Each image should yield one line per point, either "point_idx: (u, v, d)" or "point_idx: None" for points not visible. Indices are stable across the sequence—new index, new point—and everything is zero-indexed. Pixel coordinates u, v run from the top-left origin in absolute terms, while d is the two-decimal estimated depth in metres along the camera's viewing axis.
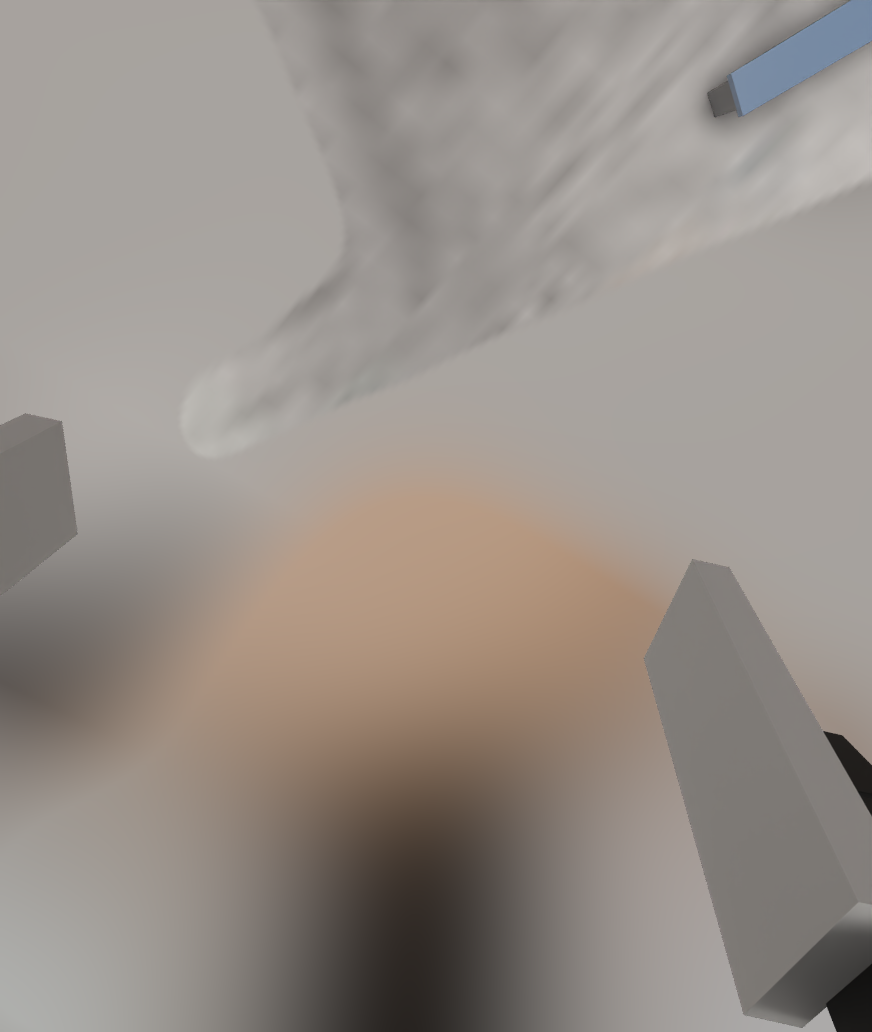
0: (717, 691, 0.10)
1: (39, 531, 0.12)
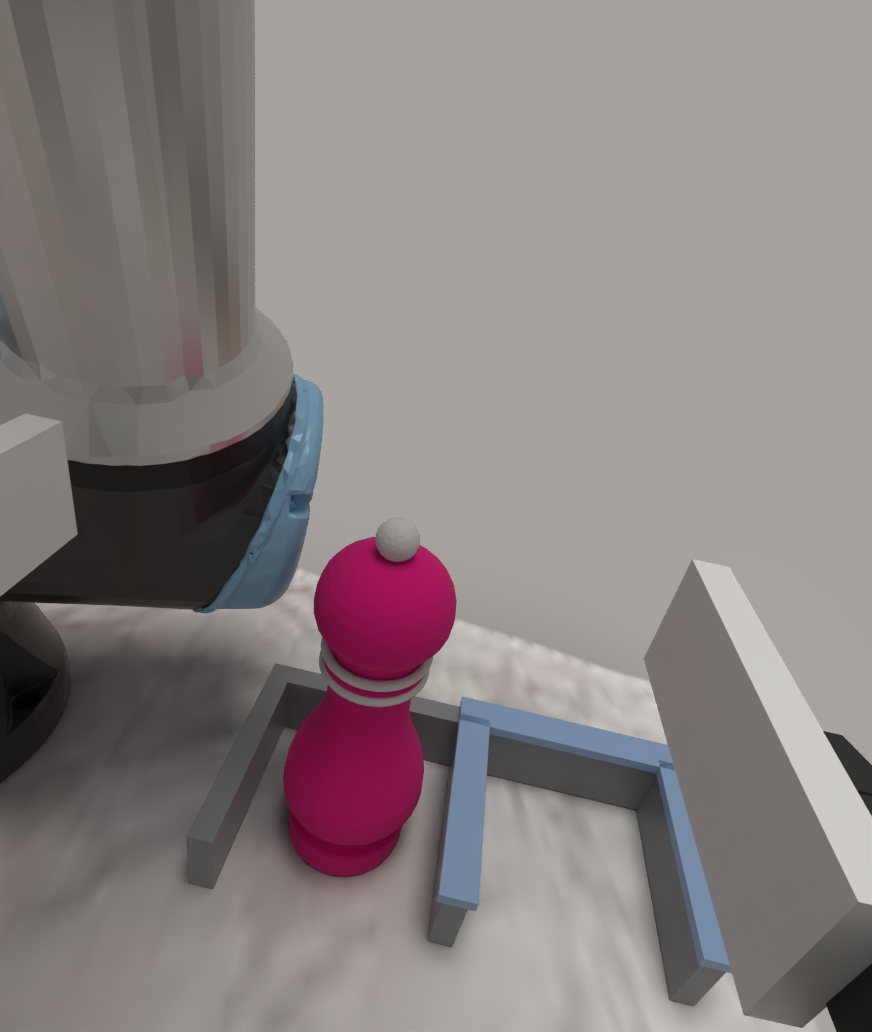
0: (717, 691, 0.10)
1: (39, 531, 0.12)
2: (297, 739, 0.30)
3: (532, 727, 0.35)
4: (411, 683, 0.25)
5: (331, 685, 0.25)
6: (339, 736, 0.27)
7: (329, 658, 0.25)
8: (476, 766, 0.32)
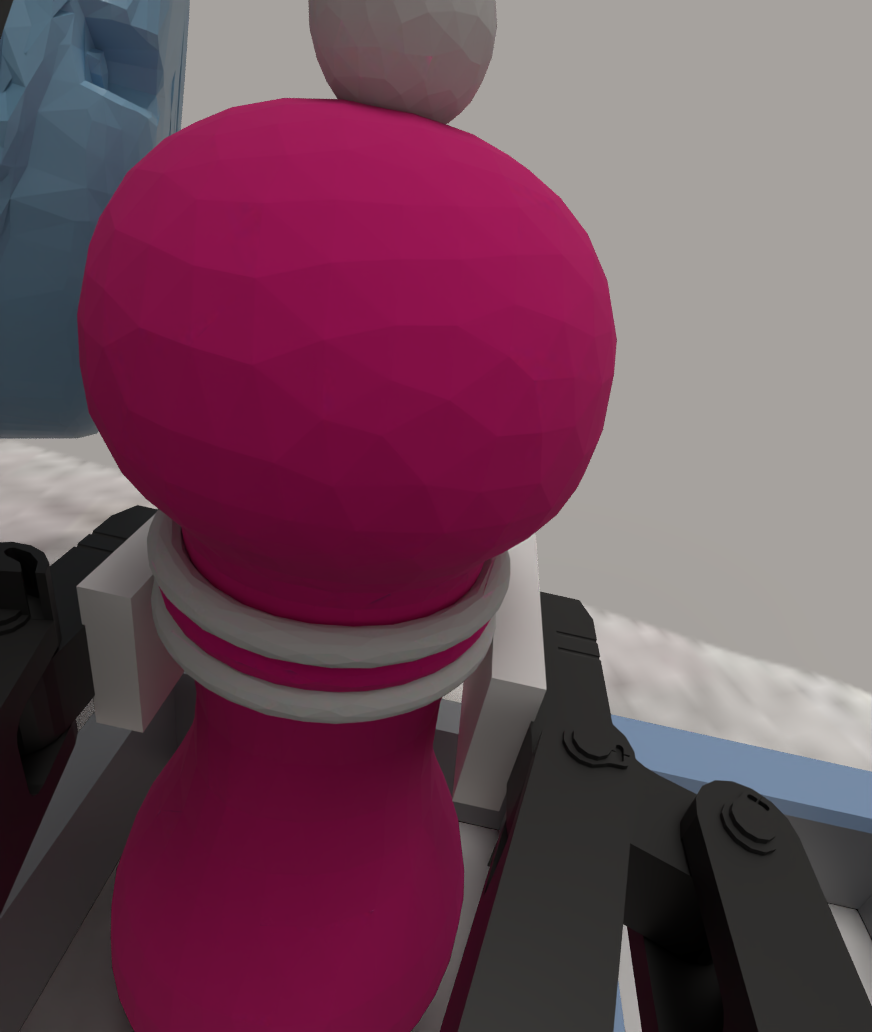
0: None
1: None
2: (142, 808, 0.11)
3: (671, 755, 0.18)
4: (454, 638, 0.07)
5: (174, 650, 0.07)
6: (226, 815, 0.09)
7: (164, 554, 0.07)
8: None
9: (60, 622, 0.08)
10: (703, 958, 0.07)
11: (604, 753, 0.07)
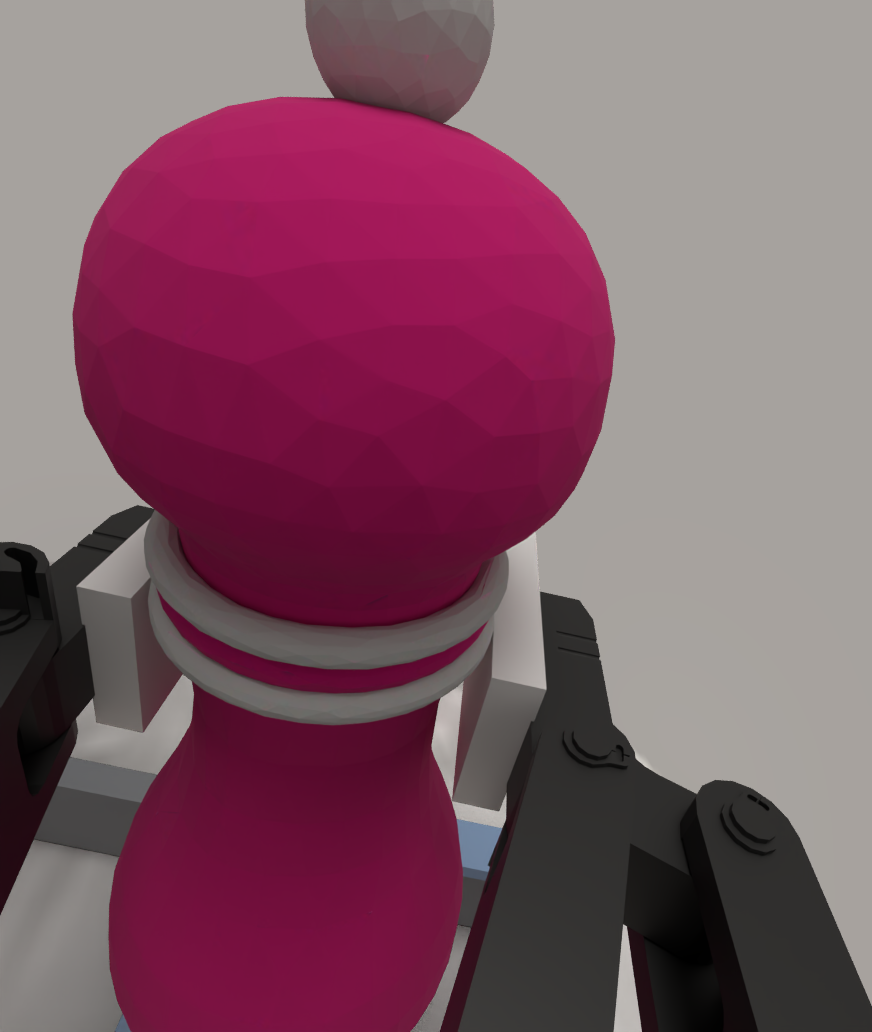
0: None
1: None
2: (140, 809, 0.11)
3: None
4: (452, 639, 0.07)
5: (170, 651, 0.07)
6: (222, 817, 0.09)
7: (160, 555, 0.07)
8: None
9: (60, 622, 0.08)
10: (703, 958, 0.07)
11: (604, 753, 0.07)
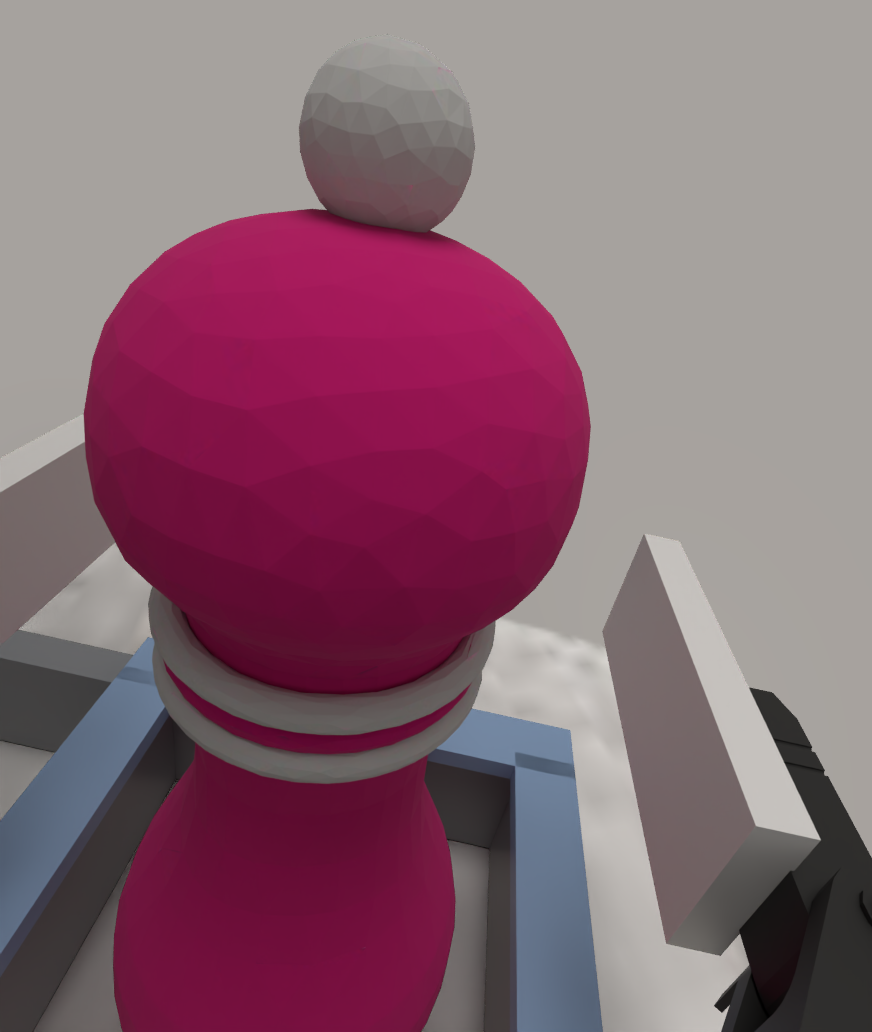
0: (658, 653, 0.10)
1: (100, 524, 0.12)
2: (143, 842, 0.12)
3: None
4: (439, 702, 0.07)
5: (174, 712, 0.08)
6: (223, 859, 0.09)
7: (164, 622, 0.08)
8: (95, 771, 0.15)
9: None
10: None
11: None
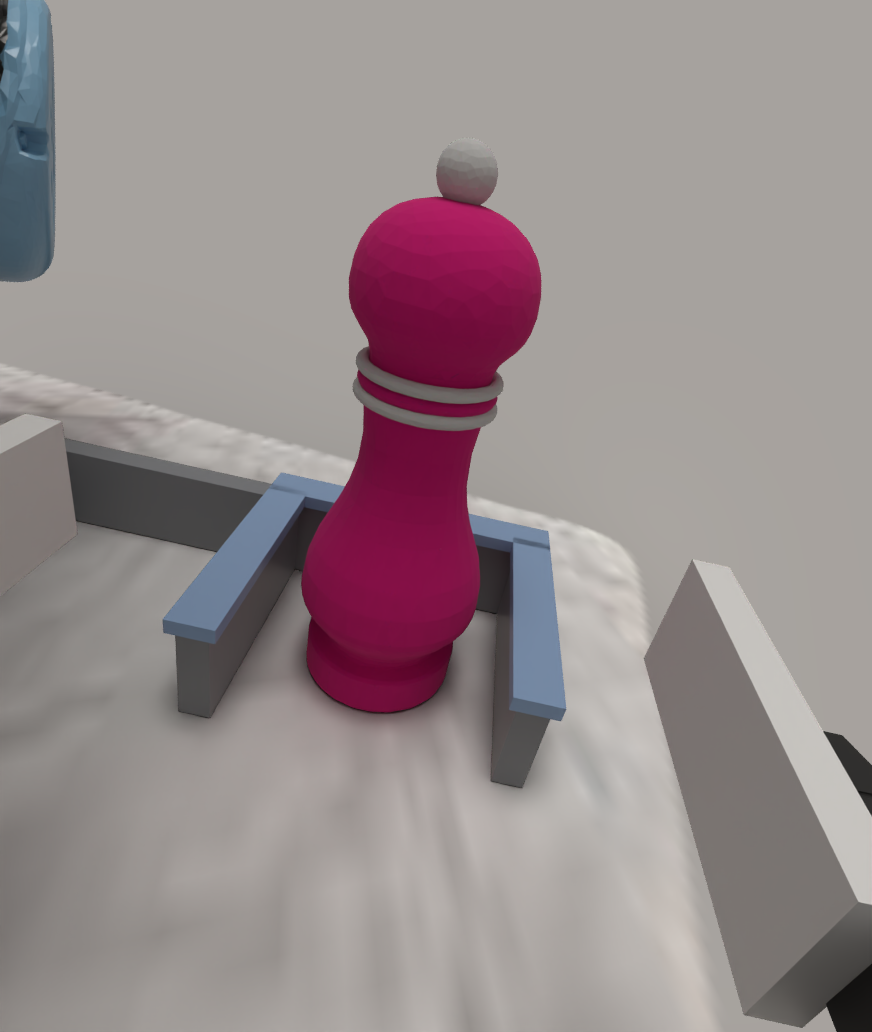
0: (717, 691, 0.10)
1: (39, 531, 0.12)
2: (320, 527, 0.23)
3: None
4: (481, 396, 0.18)
5: (372, 403, 0.19)
6: (379, 493, 0.20)
7: (369, 365, 0.19)
8: (271, 523, 0.26)
9: None
10: None
11: None
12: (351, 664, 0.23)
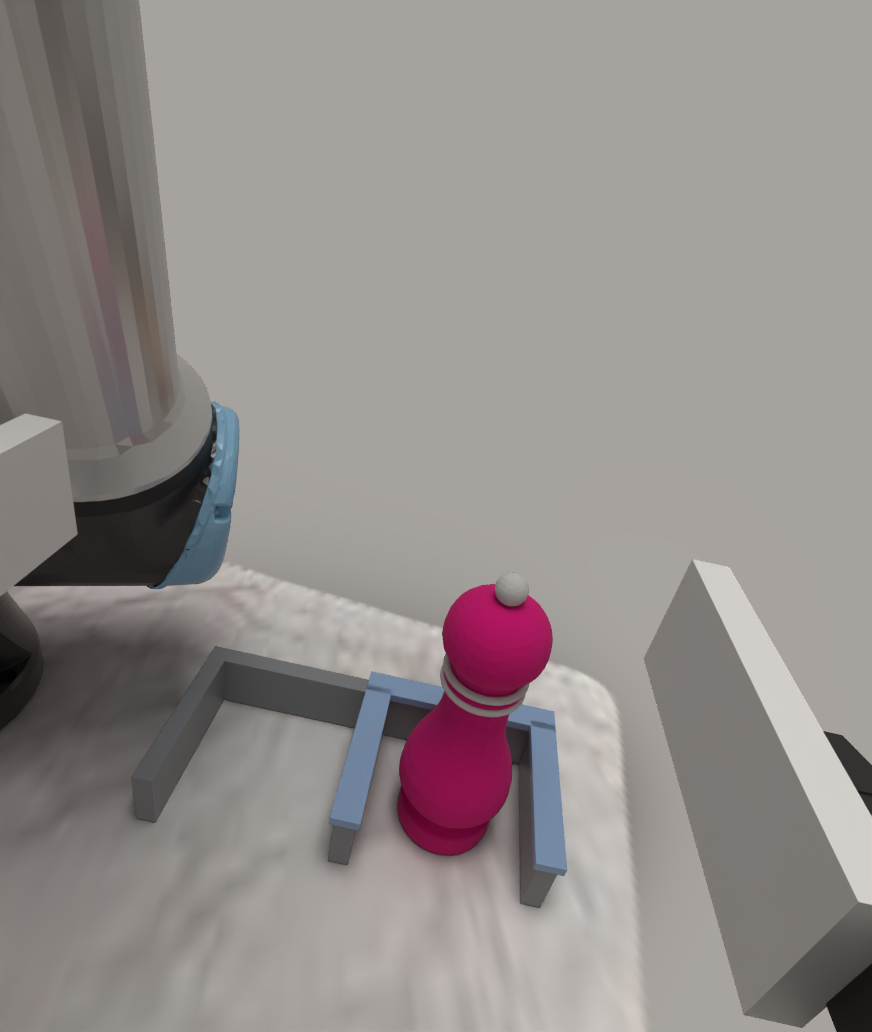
0: (717, 691, 0.10)
1: (39, 531, 0.12)
2: (413, 744, 0.37)
3: (427, 695, 0.43)
4: (518, 698, 0.32)
5: (455, 701, 0.33)
6: (456, 741, 0.34)
7: (454, 680, 0.32)
8: (374, 724, 0.40)
9: None
10: None
11: None
12: (432, 827, 0.37)
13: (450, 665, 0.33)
